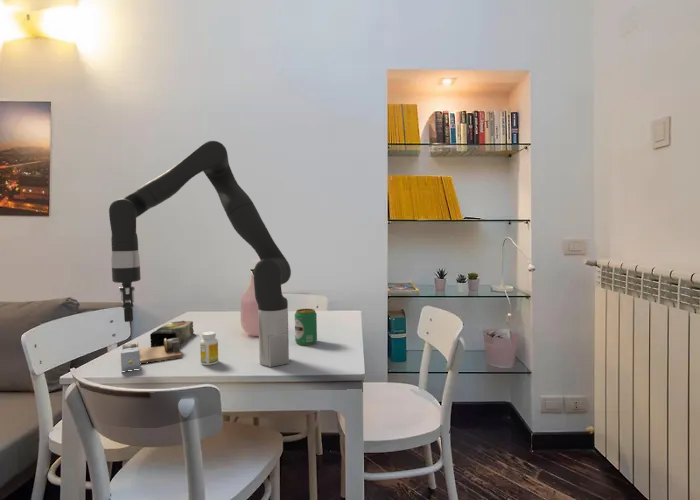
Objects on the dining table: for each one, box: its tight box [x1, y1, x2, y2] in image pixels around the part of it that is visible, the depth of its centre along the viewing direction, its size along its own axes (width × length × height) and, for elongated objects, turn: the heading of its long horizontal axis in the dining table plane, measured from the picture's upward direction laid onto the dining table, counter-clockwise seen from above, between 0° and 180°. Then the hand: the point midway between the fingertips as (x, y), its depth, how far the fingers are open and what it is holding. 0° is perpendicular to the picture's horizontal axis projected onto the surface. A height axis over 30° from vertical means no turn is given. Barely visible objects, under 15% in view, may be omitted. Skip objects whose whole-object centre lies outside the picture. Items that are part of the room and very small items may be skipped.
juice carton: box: [149, 320, 194, 347], centre depth 157 cm, size 20×10×6 cm, turn 4°
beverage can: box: [294, 308, 318, 346], centre depth 150 cm, size 8×8×12 cm
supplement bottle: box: [199, 331, 219, 366], centre depth 130 cm, size 5×5×10 cm
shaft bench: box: [122, 337, 183, 364], centre depth 137 cm, size 17×14×5 cm
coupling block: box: [120, 346, 141, 372], centre depth 125 cm, size 5×5×6 cm
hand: (128, 318), depth 125 cm, fingers open, 8 cm apart
